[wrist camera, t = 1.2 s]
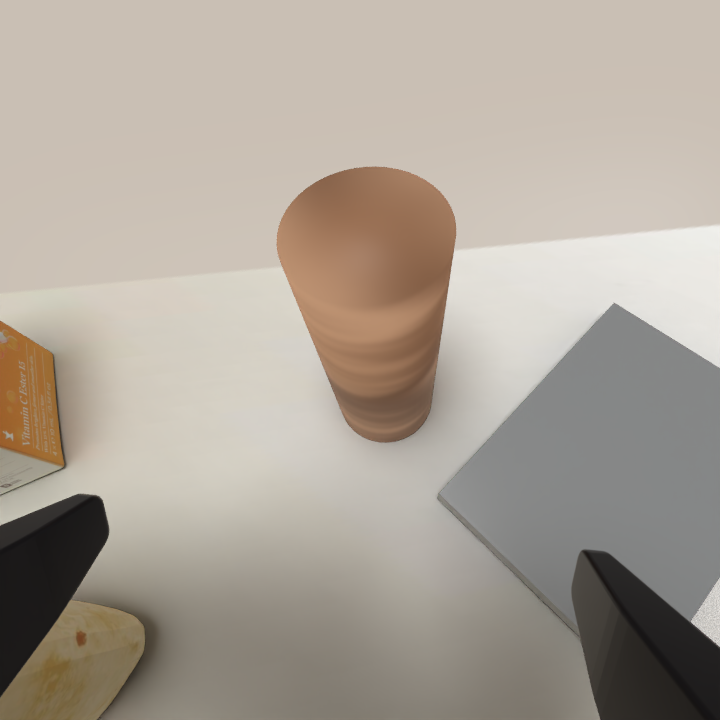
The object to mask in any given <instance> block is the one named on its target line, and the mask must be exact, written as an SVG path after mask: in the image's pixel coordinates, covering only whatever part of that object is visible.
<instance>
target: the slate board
mask: <svg viewBox="0 0 720 720" xmlns="http://www.w3.org/2000/svg"><path fill="white" fill-rule="evenodd" d="M437 499H438V500H439V501H440V502H441V503H442V504H443V505H444V506H445V507H447V508H448V509H449V510H450V511H451V512H452V513H453V514H454V515H455V516H456V517H457V518H458V519H459V520H460V521H461V522H462V523H463V524H464V525H465V526H466V527H467V528H468V529H469V530H470V531H471V532H472V533H473V534H474V535H475V536H476V537H477V538H478V539H479V540H480V541H481V542H483V543H484V544H485V545H486V546H487V547H488V548H489V549H490V550H491V551H492V552H493V553H494V554H495V555H496V556H497V557H498V558H499V559H500V560H501V561H502V562H503V563H504V564H505V565H506V566H507V567H508V568H509V569H510V570H511V571H512V572H513V573H514V574H515V575H516V576H518V577H519V578H520V579H521V580H522V581H523V582H524V583H525V584H526V585H527V586H528V587H529V588H530V589H531V590H532V591H533V592H534V593H535V594H536V595H537V596H538V597H539V598H540V599H541V600H542V601H543V602H544V603H545V604H546V605H547V606H548V607H549V608H550V609H551V610H552V611H554V612H555V613H556V614H557V615H558V616H559V617H560V618H561V619H562V620H563V621H564V622H565V623H566V624H567V625H568V626H569V627H570V628H571V629H572V630H573V631H574V632H575V633H576V634H577V635H578V636H579V637H580V634H579V629H578V625H577V620H576V616H575V611H574V607H573V603H572V596H571V585H572V581H573V576H574V572H575V567H576V563H577V558H578V555H579V553H580V551H581V550H583V549H590V550H599V551H605V552H608V553H609V554H611V555H612V556H613V557H615V558H616V559H617V560H618V561H619V562H620V563H622V564H623V565H624V566H625V567H626V568H627V569H629V570H630V571H631V572H632V573H633V574H635V575H636V576H637V577H638V578H639V579H640V580H642V581H643V582H644V583H645V584H646V585H647V586H649V587H650V588H651V589H652V590H653V591H655V592H656V593H657V594H658V595H659V596H660V597H662V598H663V599H664V600H665V601H666V602H667V603H669V604H670V605H671V606H672V607H673V608H674V609H676V610H677V611H678V612H679V613H680V614H682V615H683V616H684V617H685V618H686V619H687V620H689V621H691V620H692V618H693V617H694V615H695V614H696V612H697V611H698V609H699V608H700V606H701V605H702V603H703V602H704V600H705V599H706V597H707V596H708V594H709V593H710V591H711V590H712V588H713V587H714V585H715V584H716V582H717V581H718V579H719V578H720V368H719V367H717V366H715V365H714V364H712V363H710V362H709V361H707V360H706V359H704V358H702V357H701V356H699V355H698V354H696V353H694V352H693V351H691V350H690V349H688V348H686V347H685V346H683V345H681V344H680V343H678V342H677V341H675V340H673V339H672V338H670V337H669V336H667V335H665V334H664V333H662V332H660V331H659V330H657V329H656V328H654V327H652V326H651V325H649V324H648V323H646V322H644V321H643V320H641V319H640V318H638V317H636V316H635V315H633V314H631V313H630V312H628V311H627V310H625V309H623V308H622V307H620V306H619V305H617V304H615V303H614V304H613V305H612V306H611V307H610V308H609V309H608V310H607V311H606V312H605V313H604V314H603V315H602V317H601V318H600V319H599V320H598V321H597V322H596V323H595V324H594V325H593V326H592V327H591V329H590V330H589V331H588V332H587V333H586V334H585V335H584V336H583V337H582V338H581V339H580V340H579V342H578V343H577V344H576V345H575V346H574V347H573V348H572V349H571V350H570V351H569V352H568V354H567V355H566V356H565V357H564V358H563V359H562V360H561V361H560V362H559V363H558V364H557V365H556V367H555V368H554V369H553V370H552V371H551V372H550V373H549V374H548V375H547V376H546V377H545V379H544V380H543V381H542V382H541V383H540V384H539V385H538V386H537V387H536V388H535V389H534V390H533V392H532V393H531V394H530V395H529V396H528V397H527V398H526V399H525V400H524V401H523V402H522V404H521V405H520V406H519V407H518V408H517V409H516V410H515V411H514V412H513V413H512V414H511V415H510V417H509V418H508V419H507V420H506V421H505V422H504V423H503V424H502V425H501V426H500V427H499V429H498V430H497V431H496V432H495V433H494V434H493V435H492V436H491V437H490V438H489V439H488V441H487V442H486V443H485V444H484V445H483V446H482V447H481V448H480V449H479V450H478V451H477V452H476V454H475V455H474V456H473V457H472V458H471V459H470V460H469V461H468V462H467V463H466V464H465V466H464V467H463V468H462V469H461V470H460V471H459V472H458V473H457V474H456V475H455V476H454V477H453V479H452V480H451V481H450V482H449V483H448V484H447V485H446V486H445V487H444V488H443V489H442V491H441V492H440V493H439V494H438V497H437Z"/></svg>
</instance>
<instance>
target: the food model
mask: <svg viewBox="0 0 720 720" xmlns="http://www.w3.org/2000/svg"><path fill="white" fill-rule="evenodd" d="M144 647H145V630H144V626H143V625H142V623H141V622H140V621H139V620H138V619H137V618H136V617H135V616H134V615H131V614H129V613H126V612H123V611H121V610H118V609H114V608H110V607H105V606H101V605H97V604H92V603H86V602H82V601H75V600H70V601H69V603H68V605H67V606H66V608H65V609H64V611H63V612H62V614H61V615H60V617H59V618H58V620H57V621H56V623H55V624H54V625H53V627H52V628H51V630H50V631H49V632H48V634H47V635H46V637H45V638H44V639H43V641H42V642H41V643H40V645H39V646H38V647H37V649H36V650H35V652H34V653H33V654H32V656H31V657H30V658H29V660H28V661H27V662H26V664H25V665H24V666H23V668H22V669H21V671H20V672H19V673H18V675H17V676H16V677H15V679H14V680H13V681H12V683H11V684H10V685H9V687H8V688H7V690H6V691H5V692H4V694H3V695H2V696H1V698H0V720H97V719H98V718H99V716H100V715H101V714H102V713H103V712H104V711H105V710H106V708H107V707H108V706H109V705H110V703H111V702H112V701H113V699H114V698H115V696H116V695H117V693H118V692H119V690H120V689H121V687H122V686H123V685H124V683H125V681H126V680H127V678H128V677H129V675H130V674H131V672H132V671H133V669H134V668H135V666H136V664H137V663H138V661H139V659H140V658H141V656H142V654H143V652H144Z"/></svg>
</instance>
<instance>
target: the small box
mask: <svg viewBox="0 0 720 720" xmlns="http://www.w3.org/2000/svg"><path fill="white" fill-rule="evenodd" d="M63 467H64V461H63V455H62V450H61V441H60V433H59V423H58V413H57V403H56V391H55V379H54V366H53V354H52V353H51V352H50V351H48V350H46V349H45V348H43V347H42V346H40V345H38V344H37V343H35V342H34V341H32V340H30V339H29V338H27V337H26V336H24V335H22V334H21V333H19V332H17V331H16V330H14V329H13V328H11V327H10V326H8V325H6V324H5V323H3V322H2V321H0V495H1V494H3V493H5V492H8V491H10V490H12V489H15V488H17V487H19V486H22V485H24V484H26V483H29V482H31V481H33V480H36V479H38V478H40V477H42V476H45V475H47V474H49V473H52V472H54V471H56V470H59V469H61V468H63Z"/></svg>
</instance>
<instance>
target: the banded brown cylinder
mask: <svg viewBox="0 0 720 720" xmlns="http://www.w3.org/2000/svg"><path fill="white" fill-rule="evenodd" d="M455 239H456V223H455V217H454V214H453V212H452V209H451V207H450V205H449V204H448V201H447V200H446V198H444V196H443V195H442V194H441V193H440V191H438V190H437V189H436V188H435V187H434V186H433V185H432V184H430V183H429V182H427V181H426V180H424V179H422V178H420V177H418V176H416V175H414V174H411V173H409V172H406V171H402V170H398V169H393V168H387V167H363V168H354V169H349V170H344V171H341V172H338V173H335V174H333V175H330V176H327V177H325V178H323V179H321V180H319V181H317V182H315V183H314V184H312V185H311V186H310V187H308V188H306V189H305V190H304V191H303V192H302V193H301V194H299V195H298V196H297V198H296V199H295V200H294V201H293V202H292V203H291V204H290V206H289V207H288V208H287V210H286V212H285V213H284V215H283V217H282V219H281V222H280V225H279V228H278V233H277V251H278V256H279V259H280V262H281V264H282V267H283V269H284V272H285V274H286V277H287V279H288V282H289V284H290V286H291V289H292V291H293V294H294V296H295V299H296V301H297V304H298V306H299V308H300V311H301V313H302V316H303V318H304V321H305V323H306V326H307V328H308V331H309V333H310V335H311V338H312V340H313V343H314V345H315V348H316V350H317V353H318V355H319V357H320V360H321V362H322V365H323V367H324V370H325V372H326V375H327V377H328V379H329V382H330V384H331V387H332V389H333V392H334V394H335V397H336V399H337V401H338V404H339V406H340V409H341V411H342V414H343V416H344V418H345V420H346V422H347V423H348V425H349V426H350V427H351V428H352V429H353V430H354V431H355V432H356V433H358V434H359V435H361V436H362V437H364V438H367V439H369V440H372V441H377V442H394V441H399V440H402V439H404V438H406V437H408V436H410V435H412V434H413V433H415V432H416V431H417V430H418V429H419V428H420V427H421V426H422V425H423V423H424V422H425V420H426V419H427V416H428V414H429V411H430V408H431V401H432V395H433V388H434V381H435V374H436V367H437V361H438V354H439V347H440V340H441V334H442V327H443V320H444V313H445V306H446V300H447V293H448V286H449V279H450V272H451V266H452V259H453V252H454V245H455Z"/></svg>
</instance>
